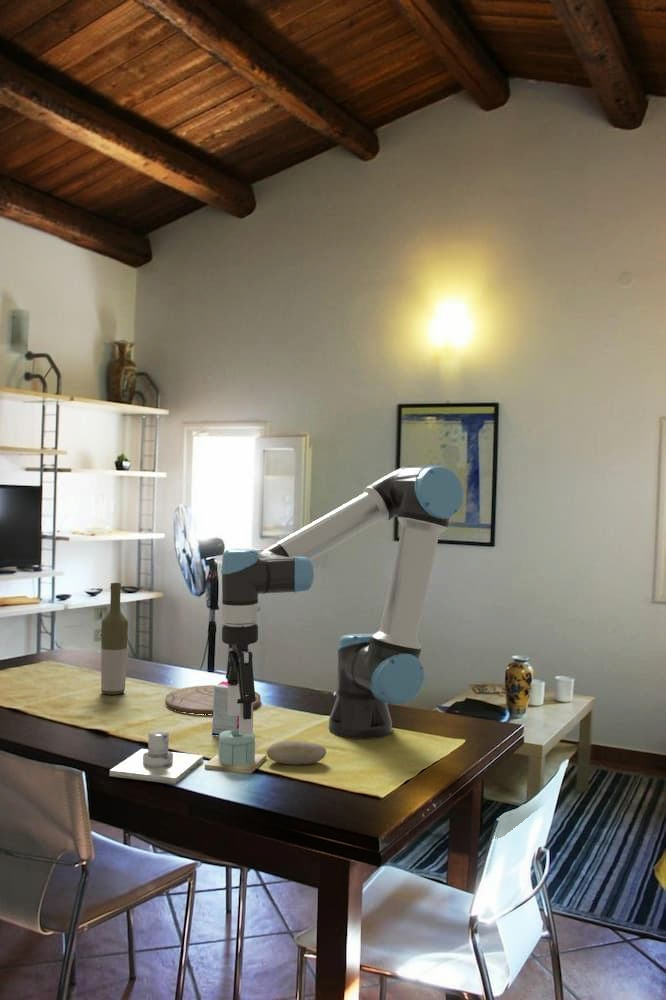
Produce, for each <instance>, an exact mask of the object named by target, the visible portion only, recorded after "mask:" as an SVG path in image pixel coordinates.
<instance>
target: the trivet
mask: <svg viewBox="0 0 666 1000" xmlns="http://www.w3.org/2000/svg"><path fill="white" fill-rule="evenodd" d="M216 685H217V684H215V685H210V684H209V685H208V684H207V685H195V686H188V687H183V688H178V689H175V690H173V691H170V692H169V693H168V694H166V695H165V704H166V705H167V706H168V707H169V708H171V709H173V710H176V711H180V712H186V713H194V714H204V715H205V714H206V715H208V714H212V715H213V704H214V687H215V686H216ZM246 696H249V695H246ZM255 697H256V701H255V702H253V710H256V709H257V708H259V707H260V706H261V700H262V699H261V694H260V693H259V692H257V691H255ZM166 705H165V706H166ZM167 706H166V707H167ZM168 707H167V708H168ZM169 708H168V709H169ZM171 709H170V710H171ZM173 710H172V711H173ZM176 711H175V712H176ZM180 712H179V713H180Z"/></svg>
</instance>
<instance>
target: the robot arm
mask: <svg viewBox="0 0 666 1000" xmlns="http://www.w3.org/2000/svg"><path fill="white" fill-rule="evenodd" d="M464 493H465V492H464V487H463V484H462V481H461V480H460V478H459V476H458V475H457V474H456V473H455V472H454V471H453V470H451V469H450V468H448V467H445V466H442V465H435V464H429V465H406V466H402V467H399V468H397V469H395V470H393V471H392V472H389V473H388V474H386V475H385V476H383V477H381V478H379V479H378V480H376V481H375V482H373V483H371V484H369V485H368V486H366V487H364V488H363V493H362V494H360V495H359V496H356V497H354V498H353V499H351V500H350V501H348V502H347V503H344V504H342V505H341V506H338V507H337V508H336V509H334V510H332V511H331V512H329V513H327V514H325V515H323V516H322V517H320V518H318V519H316V520H315V521H312V522H311V523H309V524H307V525H305V526H304V527H302V528H300V529H299V530H297V531H295V532H293V533H291V534H290V535H288V536H287V537H285V538H283V539H281V540H279V541H278V542H277V543H275V544H272V545H270V546H269V547H266V548H265V549H259V550H258V549H257V550H256V549H254V548H233V549H232V548H231V549H230V548H229V549H227V550H225V551H224V552H223V554H222V559H221V571H220V573H221V592H222V593H221V600H222V601H221V622H222V623H223V624H222V626H221V641H222V643H223V644H224V645H225V644H226V645H228V653H227V662H226V674H225V680H226V682H227V683H228V684H230V685H228V716H236V715H239V735H247V734H253V733H254V709H253V702H255V701H256V697H255V692H256V691H255V680H254V679H255V678H254V668H253V652H252V651H249V645H250V644H251V645H253V644H255V643H257V642H258V640H259V625H258V624H257V622H258V621H259V613H258V612H260V611H261V609H262V608H261V606H259V595H260V594H264V595H266V594H278V593H279V594H281V593H295V594H296V593H298V592H306V591H309V590H310V589H311V588H312V586H313V583H314V579H315V578H314V577H315V575H314V574H315V572H314V566H313V564H312V561H313V560H314V559H317V558H318V557H319V556H322V555H323V554H325V553H326V552H328V551H330V550H331V549H334V548H335V547H337V546H338V545H341V544H342V543H343V542H346V541H347V540H349V539H351V538H352V537H354V536H356V535H357V534H359V533H362V531H365V530H366V529H368V528H369V527H371V526H373V525H374V524H376V523H378V522H381V523H386V522H389V521H390V520H392V519H394V518H396V517H397V521H398V522H399V524H400V525H401V531H400V535H399V540H398V543H397V544H398V545H397V550H396V553H395V559H394V561H393V562H394V563H393V567H392V572H391V576H390V580H389V585H388V590H387V595H386V598H385V603H384V607H383V613H382V617H381V622H380V626H379V629H378V630H377V631H376V632H374V633H352V634H345V635H342V636H341V637H340V638H339V640H338V647H337V683H336V684H337V686H336V687H337V691H336V699H335V700H334V701H335V702H334V704H333V708H332V710H331V713H330V716H329V718H328V729H329V731H330V732H332V733H333V734H335V735H338V736H341V737H345V738H349V739H350V738H351V739H378V738H381V737H385V736H387V735H390V734H391V733H392V730H393V729H392V728H393V723H392V721H393V720H392V717H391V713H390V710H389V707H388V704H390V705H395V706H396V705H402V704H403V705H404V704H406V703H408V702H410V701H411V700H413V699H414V698H415V697H416V696H417V695H418V694H419V693H420V691H421V689H422V687H423V685H424V683H425V677H426V676H425V675H426V674H425V669H424V667H423V664H422V662H421V661H420V656H421V651H422V645H421V644H420V641H418V639H417V638H418V634H419V630H420V623H421V621H422V616H423V611H424V605H425V602H426V598H427V597H426V596H427V593H428V586H429V582H430V578H431V573H432V568H433V564H434V560H435V554H436V550H437V548H438V547H437V545H438V541H439V537H440V535H441V534H442V533H443V532H446V531H447V530H448V527H449V523H450V518H451V517H452V516H454V515H455V514H456V513H458V512H459V511H460V510H461V507H462V505H463V502H464ZM237 684H239V685H237ZM246 695H249V696H246Z"/></svg>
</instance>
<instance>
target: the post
mask: <svg viewBox="0 0 666 1000" xmlns="http://www.w3.org/2000/svg"><path fill="white" fill-rule="evenodd" d="M147 743H148V745H147V749H146V748H141V749H139V750H138V751H136V752H134V753H133V754H131V755H130V756H129V757H127V758H126V759H124V760H123V761H121V762H119V763H118V764H117V765H115V766H114V767H113V768H111V769H109V777H113V778H120V779H121V778H122V779H123V778H124V779H127V780H128V779H131V780H139V781H147V782H155V783H162V784H170V785H172V784H173V785H176V784H178V783H179V782H180V781H181V780H182V779H184V778H185V777H186V776H188V775H189V774H190V773H191V772H192V771H193V770H194V769H196V768H197V767H198V766H199V765H200V764H201V763H203V762H204V755H200V754H193V753H184V752H183V753H182V752H174V751H169V732H167V731H162V730H161V731H160V730H159V731H158V730H157V731H152V732H150V733H148V741H147Z"/></svg>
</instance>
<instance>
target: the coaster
mask: <svg viewBox="0 0 666 1000" xmlns="http://www.w3.org/2000/svg"><path fill="white" fill-rule="evenodd" d="M265 758H266V759H267V753H266V754H265V753H256V752H255V760H254V761H253V762H251V763H249V764H246V765H235V766H233V765H232V766H231V765H227V764H222V763H220V761H219V759H218V753H217V754H215V756H213V757H212V758H210V759H209V760H208V761H207V762H206V763H205V764H204V769H205V770H206V769H207V770H215V771H224V772H230V773H231V772H232V773H241V774H250V775H251V774H253V772H254V771H255V770H256V769H257V768H258V767H259V766H260V765H261V764H262V763H263V762H264V761H265V760H266V759H265ZM264 759H265V760H264ZM263 760H264V761H263ZM262 761H263V762H262ZM261 762H262V763H261ZM260 763H261V764H260ZM259 764H260V765H259ZM258 765H259V766H258ZM257 766H258V767H257ZM256 767H257V768H256ZM255 768H256V769H255Z"/></svg>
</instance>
